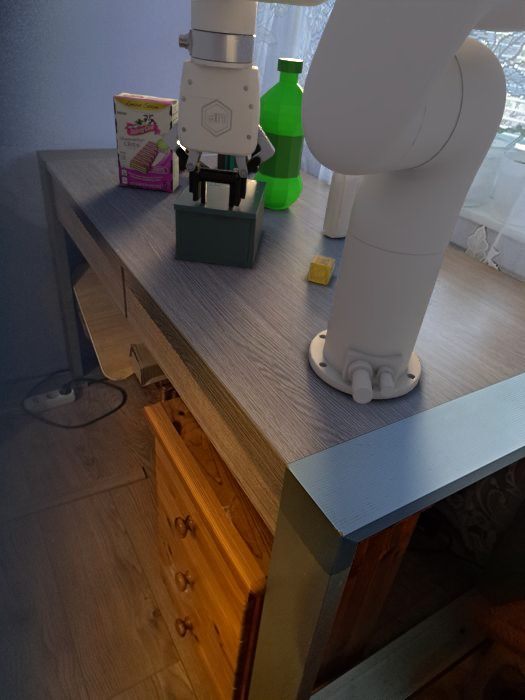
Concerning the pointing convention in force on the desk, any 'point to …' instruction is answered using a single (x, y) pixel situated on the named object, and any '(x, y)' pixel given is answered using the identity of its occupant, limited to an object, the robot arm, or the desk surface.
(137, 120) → the candy bar box
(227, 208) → the lid
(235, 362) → the desk surface
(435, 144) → the robot arm
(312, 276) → the alphabet block
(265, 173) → the plastic bottle
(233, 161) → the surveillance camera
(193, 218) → the dark green open box
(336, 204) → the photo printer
